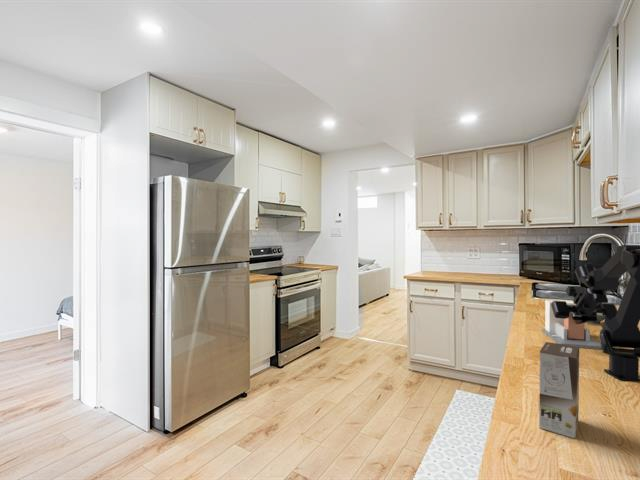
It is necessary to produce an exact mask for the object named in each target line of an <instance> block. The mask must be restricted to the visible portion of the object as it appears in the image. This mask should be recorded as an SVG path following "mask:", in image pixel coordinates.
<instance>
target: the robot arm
mask: <svg viewBox="0 0 640 480" xmlns="http://www.w3.org/2000/svg"><path fill="white" fill-rule="evenodd" d="M574 272H575V275H576V277H577V278H576V279H577V280H578V283H579V285H573V286H572V285H568V286H567V287H566V289H565V293H566V295H567V296H568V297H573V300H572V301H573V302H574V304H576V305H567V304H566V302H565V301H566V300H555V301H553V302H552V304H551V306H552V309H553V313H554V316H555V317H556V318H561V319H566V318H569V312H570V313H571V316H572V319H573V320H575V323H576V324H582V323H585V324H586V323H587V322H593V321H597V317H596V316H597V315H598V316H604V315H605V316H606V318H605V319H604V320H603V323H602V324H603V325H601V330H600V331H599V340H600V341H599V342H600V343H601V347H602V349H601V351H602V353H603V354H606V355H608V356H609V357H608V359H609V360H608V361H609V362H608V369H607V368H605V369H604V368H603V371H604V373H606V374H608V375H610V376H612V377H614V378H615V379H617V380H619V381H636V382H637V381H638V382H640V375H639V372H640V371H639V369H640V367H639V364H640V361H639V360H640V359H639V358H640V329H639V324H640V245H639V244H622V245H618V246H617V248H616V252H615V253H614V254H613V255H611V257H610V258H609V259H608V260H607V262H605V264H603V266H602V267H600V268H597V269H596V268H595V266H594V265H593V263H585V264H584V265H581V266H579V267H577V268H576V269H574ZM627 272H628V274H629V279H628V282H627V285H626V287H625V290H624V293H623V295H622V298H621V300H620V303H619V306H618V309H617V306H616V305H615V304H614V303H610V302H609V299H608V296H607V295H608V292H615V291H616V290H617V289H618V288H619V286H620V285H621V280H620V279H621V277H622V276H623V275H624V274H625V273H627ZM601 307H602V308H603V309H602V308H601ZM587 324H588V323H587Z"/></svg>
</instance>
